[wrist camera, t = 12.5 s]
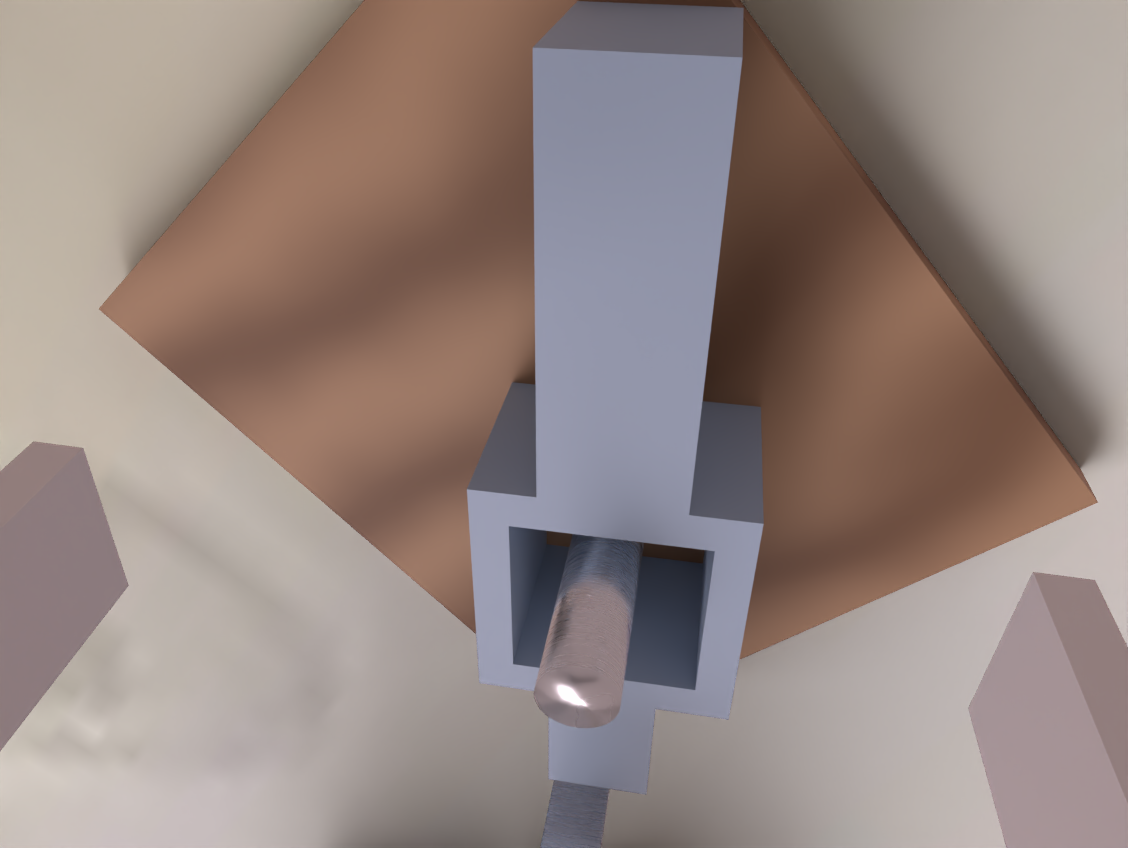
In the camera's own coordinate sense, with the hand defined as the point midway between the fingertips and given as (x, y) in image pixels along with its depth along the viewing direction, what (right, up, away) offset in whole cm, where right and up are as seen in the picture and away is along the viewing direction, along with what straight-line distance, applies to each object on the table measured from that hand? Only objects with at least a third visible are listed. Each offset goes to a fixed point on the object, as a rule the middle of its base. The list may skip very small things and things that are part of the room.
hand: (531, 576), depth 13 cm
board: (+1, +4, +14) cm, 14 cm away
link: (+2, +3, +13) cm, 13 cm away
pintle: (+2, +1, +15) cm, 16 cm away
